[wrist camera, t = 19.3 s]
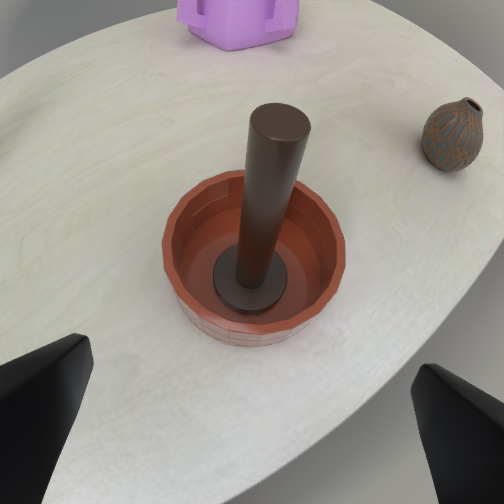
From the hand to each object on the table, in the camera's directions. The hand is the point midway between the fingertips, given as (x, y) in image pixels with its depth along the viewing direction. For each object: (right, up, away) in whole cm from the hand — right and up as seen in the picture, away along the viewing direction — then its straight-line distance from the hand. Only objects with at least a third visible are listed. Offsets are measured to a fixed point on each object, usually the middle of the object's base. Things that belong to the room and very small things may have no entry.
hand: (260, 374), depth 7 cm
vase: (+22, +14, +24) cm, 35 cm away
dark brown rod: (0, +1, +15) cm, 15 cm away
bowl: (0, +2, +16) cm, 16 cm away
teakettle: (-2, +38, +34) cm, 51 cm away
